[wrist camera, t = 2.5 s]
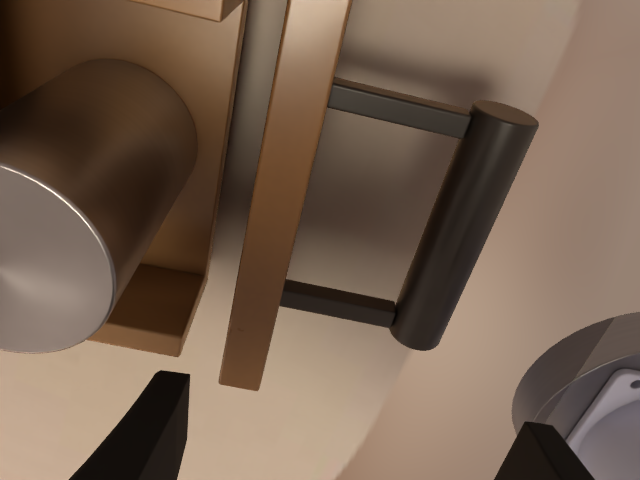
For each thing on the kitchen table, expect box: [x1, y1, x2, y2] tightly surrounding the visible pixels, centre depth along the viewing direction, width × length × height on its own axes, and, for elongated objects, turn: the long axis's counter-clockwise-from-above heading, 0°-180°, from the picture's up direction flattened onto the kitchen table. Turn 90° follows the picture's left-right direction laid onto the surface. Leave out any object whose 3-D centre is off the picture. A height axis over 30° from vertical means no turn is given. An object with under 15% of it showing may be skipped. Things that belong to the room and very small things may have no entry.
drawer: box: [0, 0, 539, 391], centre depth 14 cm, size 17×11×4 cm, turn 77°
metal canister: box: [0, 59, 197, 354], centre depth 12 cm, size 4×4×6 cm
